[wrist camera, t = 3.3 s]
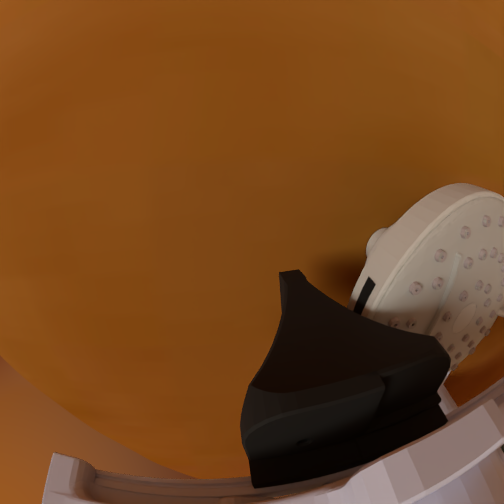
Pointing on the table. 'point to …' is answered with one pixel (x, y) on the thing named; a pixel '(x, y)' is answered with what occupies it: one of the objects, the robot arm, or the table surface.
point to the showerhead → (438, 269)
